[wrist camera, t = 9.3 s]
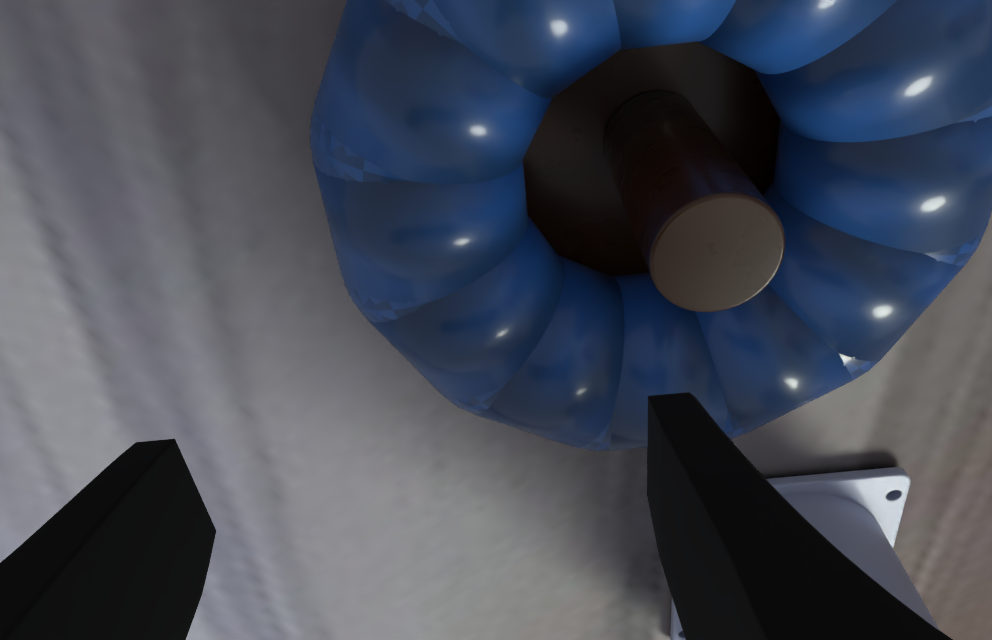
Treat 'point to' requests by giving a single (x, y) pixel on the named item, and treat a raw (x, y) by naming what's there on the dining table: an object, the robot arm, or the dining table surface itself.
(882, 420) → the dining table surface
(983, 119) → the blue swim ring
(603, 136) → the wooden peg stand
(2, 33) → the dining table surface
